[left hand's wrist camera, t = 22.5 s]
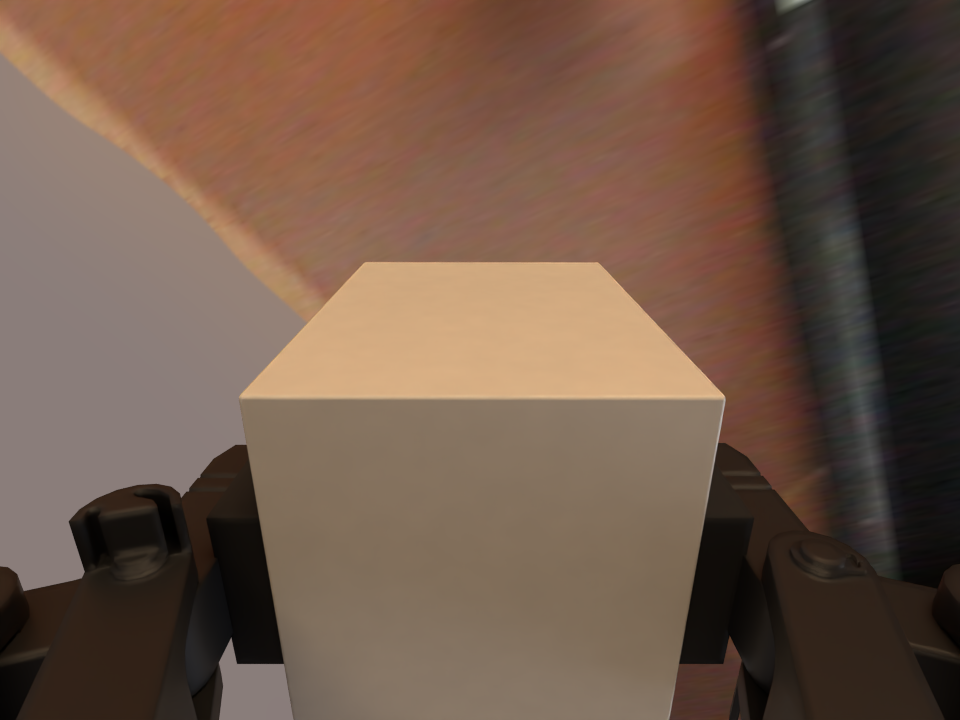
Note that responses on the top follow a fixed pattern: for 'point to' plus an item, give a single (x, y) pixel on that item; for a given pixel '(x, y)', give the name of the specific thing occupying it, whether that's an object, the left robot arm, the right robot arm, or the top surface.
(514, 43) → the top surface
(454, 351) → the block
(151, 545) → the left robot arm
